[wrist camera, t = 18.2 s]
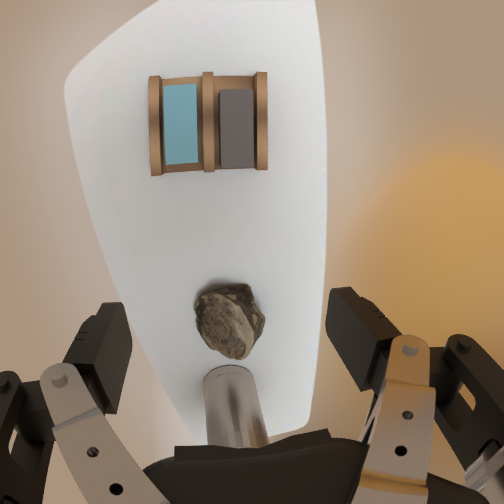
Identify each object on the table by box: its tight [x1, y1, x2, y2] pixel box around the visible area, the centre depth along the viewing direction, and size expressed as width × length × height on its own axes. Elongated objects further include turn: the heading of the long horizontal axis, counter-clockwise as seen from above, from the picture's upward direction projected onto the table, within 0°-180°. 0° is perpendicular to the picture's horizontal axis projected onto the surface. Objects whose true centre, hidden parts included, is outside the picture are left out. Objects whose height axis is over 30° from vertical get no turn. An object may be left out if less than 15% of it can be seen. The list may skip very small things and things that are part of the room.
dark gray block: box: [218, 89, 254, 168], centre depth 32 cm, size 9×4×4 cm, turn 0°
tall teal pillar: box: [163, 83, 199, 165], centre depth 31 cm, size 9×4×4 cm, turn 1°
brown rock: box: [194, 285, 265, 360], centre depth 41 cm, size 11×9×10 cm
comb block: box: [149, 72, 268, 176], centre depth 32 cm, size 12×14×4 cm
